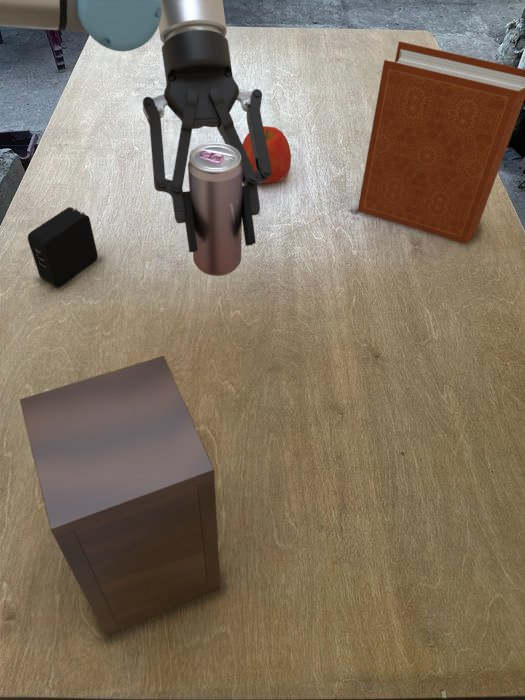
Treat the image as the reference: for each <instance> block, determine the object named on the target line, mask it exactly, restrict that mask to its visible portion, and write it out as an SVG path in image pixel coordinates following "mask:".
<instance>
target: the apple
mask: <svg viewBox="0 0 525 700" xmlns="http://www.w3.org/2000/svg"><path fill="white" fill-rule="evenodd" d="M263 128H264V134H265V139H266V144H267V149H268V155H269V160H270V165H271V170H272V174H271V175H270V177H269V178H268V179H267V180H266V181H263V182H261V183H260V184H273V183H278V182H279V181H281V180H283V179H284V178H285V177H286V176H287V175H288V174H289V171H290V169H291V165H292V152H291V146H290V144H289V140H288V138H287V137H286V135H285V134H284V133H283V131H281V130H280V129H279V128H277V127H274V126H267V125H263ZM242 145H243V147H244V150H245V152H246V154H247V156H248V159H249V161H250V163H251V165H252V167H253V170H254V172H256V171H257V170H256V165H255V160H254V155H253V150H252V145H251V139H250V134H249V132H248V133H247V134H246V136H245V137H244V138H243V141H242Z"/></svg>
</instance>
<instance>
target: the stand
mask: <svg viewBox="0 0 525 700" xmlns="http://www.w3.org/2000/svg"><path fill="white" fill-rule="evenodd" d="M19 403H20V407H21V412H22V415H23V420H24V424H25V429H26V432H27V437H28V442H29V446H30V450H31V453H32V457H33V463H34V466H35V470H36V474H37V479H38V484H39V488H40V491H41V496H42V500H43V505H44V508H45V513H46V517H47V521H48V525H49V530H50V532H51V533H52V536H53V537H54V539H55V542H56V543H57V545H58V548H59V549H60V551H61V553H62V555H63V557H64V559H65V561H66V562H67V565H68V567H69V568H70V570H71V573H72V574H73V576H74V578H75V580H76V582H77V584H78V585H79V587H80V590H81V591H82V594H83V595H84V597H85V599H86V601H87V603H88V605H89V607H90V609H91V611H92V613H93V615H94V616H95V618H96V620H97V622H98V625H99V626H100V628H101V630H102V632H103V634H104V635H105V637H108V636H111V635H114V634H115V633H118V632H120V631H122V630H125V629H127V628H130V627H132V626H134V625H136V624H139V623H141V622H143V621H146V620H149V619H150V618H153V617H156V616H157V615H160V614H162V613H164V612H168V611H169V610H172V609H174V608H176V607H177V608H178V607H179V606H181V605H184V604H186V603H188V602H190V601H193V600H195V599H197V598H200V597H202V596H205V595H207V594H209V593H212V592H214V591H216V590H218V589H220V588H221V574H220V573H221V572H220V553H219V552H220V551H219V536H218V517H217V516H218V515H217V498H216V482H215V481H216V480H215V469H214V466H213V464H212V461H211V460H210V457H209V455H208V452H207V450H206V448H205V446H204V444H203V441H202V439H201V437H200V435H199V432H198V431H197V430H198V429H197V428H196V424H195V423H194V421H193V419H192V416H191V414H190V412H189V410H188V407H187V404H186V402H185V401H184V398H183V396H182V394H181V391H180V389H179V387H178V385H177V382H176V381H175V377H174V376H173V373H172V371H171V369H170V366H169V364H168V362H167V359H166V358H165V355H161V356H158V357H155V358H150V359H148V360H144V361H141V362H138V363H134V364H131V365H128V366H125V367H121V368H118V369H115V370H112V371H108V372H105V373H102V374H99V375H95V376H92V377H88V378H85V379H82V380H79V381H75V382H72V383H68V384H65V385H62V386H60V387H59V386H58V387H56V388H52V389H48V390H46V391H42V392H39V393H36V394H32V395H30V396H29V395H28V396H25V397H22V398H20V399H19Z"/></svg>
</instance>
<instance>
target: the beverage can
mask: <svg viewBox="0 0 525 700" xmlns="http://www.w3.org/2000/svg"><path fill="white" fill-rule="evenodd" d="M187 172H188V191H190V197H191V205H192V212H193V219H194V226H195V234H196V241H197V248H198V250H197V251H196V252H192V257H193V258H192V259H193V260H192V261H193V263H194V265H195V267H196V268H197V269H198V270H199V271H201V272H202V273H204V274H206V275H207V276H208V275H209V276H213V277H222V276H223V277H224V276H226V275H227V276H228V275H229V274H231V273H233V272H234V271H235V270H237V268H238V267H239V265H240V264H241V261H242V240H243V239H242V235H243V233H242V232H243V222H242V186H244V184H243V164H242V161H241V154H240V152H239V151H238V150H237V149H236V148H234V147H232V146H230V145H227V144H225V143H222V142H207V143H203V144H200V145H197V146H195V147H194V148H193V149H192V150H191V151H190V153H189V155H188V163H187Z"/></svg>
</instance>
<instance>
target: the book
mask: <svg viewBox="0 0 525 700" xmlns="http://www.w3.org/2000/svg"><path fill="white" fill-rule="evenodd" d="M381 70H382V71H381V76H380V82H379V87H378V92H377V99H376V104H375V110H374V114H373V115H374V116H373V122H372V125H371V126H372V127H371V132H370V138H369V143H368V149H367V155H366V156H367V157H366V161H365V167H364V172H363V177H362V183H361V189H360V194H359V200H358V207H357V212H360V213H363V214H367V215H370V216H373V217H377V218H380V219H383V220H385V221H386V220H387V221H389V222H392V223H396V224H399V225H403V226H406V227H409V228H413V229H416V230H419V231H423V232H426V233H429V234H432V235H434V236H435V235H436V236H439V237H442V238H445V239H449V240H452V241H455V242H458V243H463V244H467V243H468V242H470V241H471V240H473V238H474V237H475V236H476V233H477V231H478V228H479V225H480V222H481V221H482V220H481V219H482V217H483V214H484V212H485V209H486V206H487V203H488V201H489V198H490V196H491V195H490V194H491V192H492V189H493V187H494V184H495V181H496V179H497V176H498V172H499V170H500V167H501V165H502V162H503V160H504V156H505V154H506V151H507V148H508V146H509V142H510V141H511V137H512V134H513V132H514V129H515V126H516V124H517V121H518V118H519V115H520V112H521V110H522V107H523V104H524V101H525V68H520V67H516V66H511V65H507V64H502V63H498V62H494V61H489V60H485V59H480V58H475V57H472V56H468V55H467V56H466V55H463V54H458V53H453V52H449V51H444V50H440V49H435V48H431V47H426V46H422V45H418V44H413V43H408V42H405V41H400V40H399V41H398V43H397V49H396V54H395V60H394V61H393V60H387V59H384V60H383V65H382V69H381Z"/></svg>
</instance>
